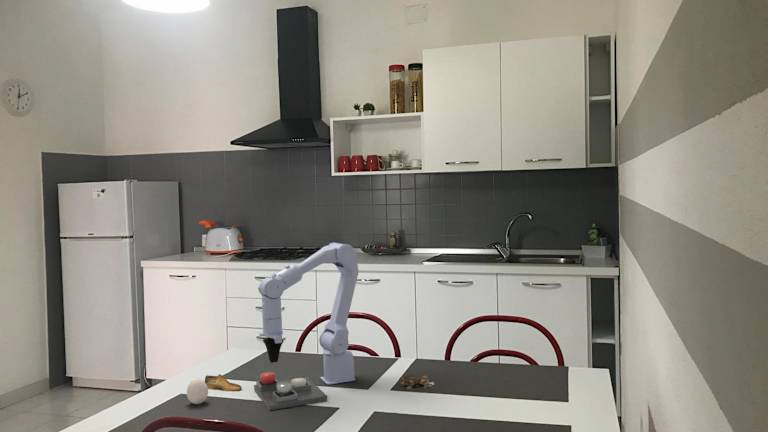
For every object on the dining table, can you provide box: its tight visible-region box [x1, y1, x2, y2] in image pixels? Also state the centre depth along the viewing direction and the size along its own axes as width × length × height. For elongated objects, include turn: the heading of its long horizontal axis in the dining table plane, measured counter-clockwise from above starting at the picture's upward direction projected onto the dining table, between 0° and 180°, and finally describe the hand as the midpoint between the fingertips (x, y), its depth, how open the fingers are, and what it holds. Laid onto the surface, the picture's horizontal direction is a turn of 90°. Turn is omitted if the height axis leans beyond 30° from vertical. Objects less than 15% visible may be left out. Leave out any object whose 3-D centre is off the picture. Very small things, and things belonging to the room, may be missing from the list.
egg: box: [186, 377, 209, 405], centre depth 192 cm, size 6×6×8 cm
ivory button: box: [291, 377, 306, 387], centre depth 198 cm, size 4×4×2 cm
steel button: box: [277, 382, 292, 395], centre depth 189 cm, size 4×4×2 cm
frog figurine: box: [399, 374, 435, 390], centre depth 202 cm, size 12×12×4 cm
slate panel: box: [253, 376, 328, 411], centre depth 197 cm, size 17×21×3 cm
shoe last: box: [204, 373, 242, 392], centre depth 206 cm, size 4×14×5 cm, turn 64°
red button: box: [259, 371, 276, 384], centre depth 200 cm, size 4×4×2 cm
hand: (273, 361), depth 199 cm, fingers closed
